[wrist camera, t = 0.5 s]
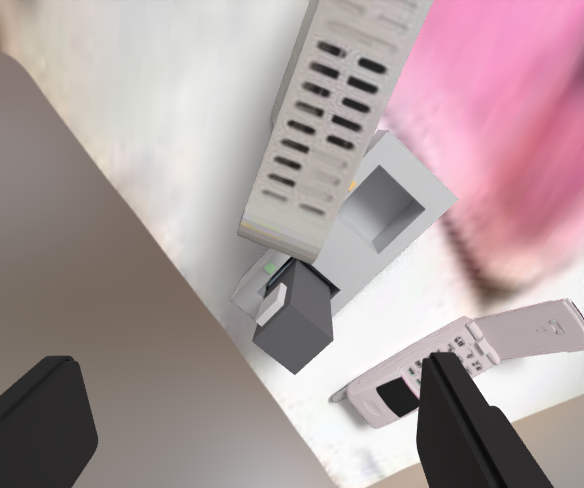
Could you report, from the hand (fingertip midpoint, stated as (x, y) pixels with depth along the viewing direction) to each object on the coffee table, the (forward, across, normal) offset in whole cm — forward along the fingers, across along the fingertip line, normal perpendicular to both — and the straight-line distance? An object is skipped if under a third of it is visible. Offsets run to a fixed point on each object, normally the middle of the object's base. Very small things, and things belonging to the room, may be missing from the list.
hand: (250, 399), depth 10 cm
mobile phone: (+27, -15, +17) cm, 35 cm away
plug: (+26, 0, +7) cm, 27 cm away
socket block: (+27, -4, +4) cm, 27 cm away
